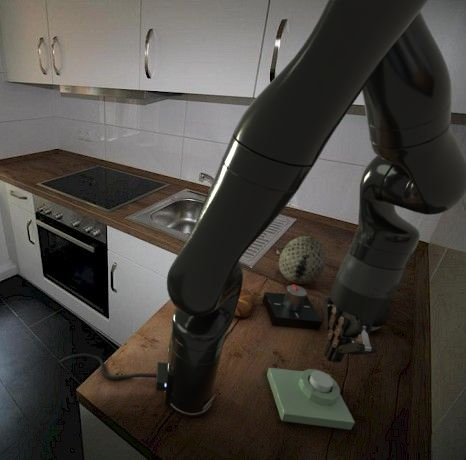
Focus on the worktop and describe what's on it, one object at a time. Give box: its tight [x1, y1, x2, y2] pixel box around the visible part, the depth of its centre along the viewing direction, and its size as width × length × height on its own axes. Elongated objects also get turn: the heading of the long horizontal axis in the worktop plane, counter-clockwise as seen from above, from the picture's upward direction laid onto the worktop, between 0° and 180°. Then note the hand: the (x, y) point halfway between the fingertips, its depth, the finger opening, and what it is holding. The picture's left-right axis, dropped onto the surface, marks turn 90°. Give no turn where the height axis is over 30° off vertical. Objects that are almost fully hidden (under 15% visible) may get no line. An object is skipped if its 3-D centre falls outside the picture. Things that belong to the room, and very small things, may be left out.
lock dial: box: [283, 283, 308, 311], centre depth 81 cm, size 4×4×5 cm
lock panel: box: [262, 291, 323, 331], centre depth 82 cm, size 11×10×3 cm
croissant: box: [234, 287, 256, 318], centre depth 86 cm, size 12×11×4 cm
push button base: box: [266, 367, 356, 431], centre depth 61 cm, size 12×10×4 cm
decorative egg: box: [278, 235, 327, 285], centre depth 93 cm, size 12×12×15 cm
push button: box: [309, 370, 333, 393], centre depth 60 cm, size 4×4×2 cm
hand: (331, 358), depth 57 cm, fingers closed
